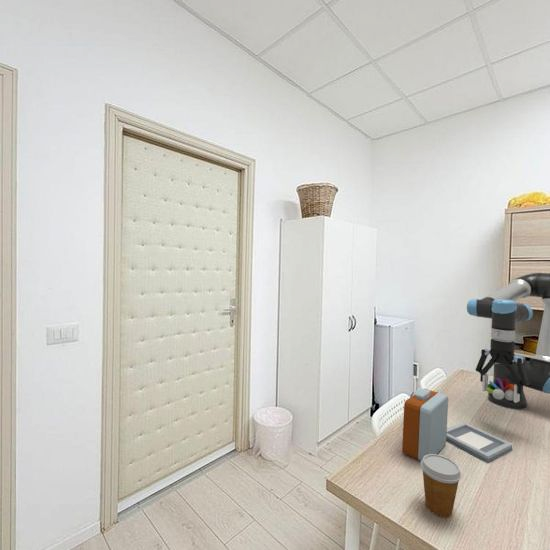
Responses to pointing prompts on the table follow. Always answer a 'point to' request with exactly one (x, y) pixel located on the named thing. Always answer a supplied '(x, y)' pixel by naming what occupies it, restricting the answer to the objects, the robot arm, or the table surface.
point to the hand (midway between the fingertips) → (500, 395)
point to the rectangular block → (424, 423)
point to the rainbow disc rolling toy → (501, 389)
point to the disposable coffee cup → (440, 483)
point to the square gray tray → (477, 442)
